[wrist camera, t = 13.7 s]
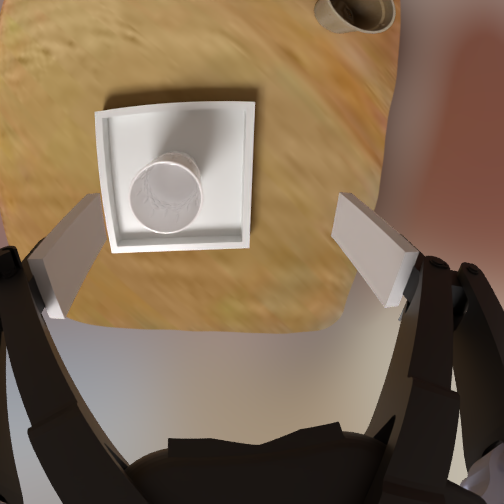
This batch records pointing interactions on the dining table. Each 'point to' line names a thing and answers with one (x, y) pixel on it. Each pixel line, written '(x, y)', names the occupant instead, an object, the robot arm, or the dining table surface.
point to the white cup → (167, 193)
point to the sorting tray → (195, 145)
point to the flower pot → (355, 15)
